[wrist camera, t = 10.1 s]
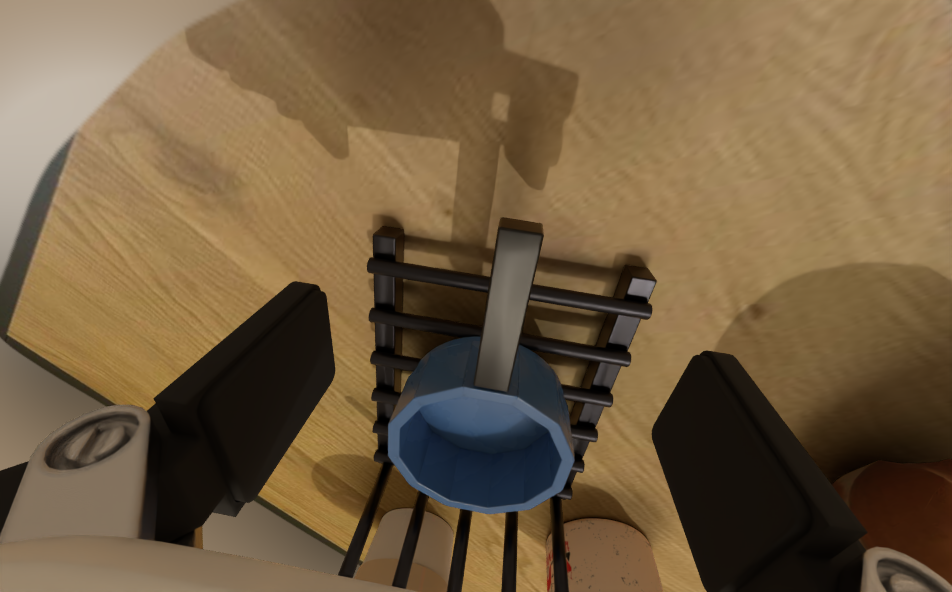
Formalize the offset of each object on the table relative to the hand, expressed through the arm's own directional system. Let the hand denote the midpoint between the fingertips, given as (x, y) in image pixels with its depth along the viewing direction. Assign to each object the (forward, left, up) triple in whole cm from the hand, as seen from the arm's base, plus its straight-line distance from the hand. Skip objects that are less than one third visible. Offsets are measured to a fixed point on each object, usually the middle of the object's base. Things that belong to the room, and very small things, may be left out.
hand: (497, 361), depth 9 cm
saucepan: (+6, 0, -8) cm, 10 cm away
